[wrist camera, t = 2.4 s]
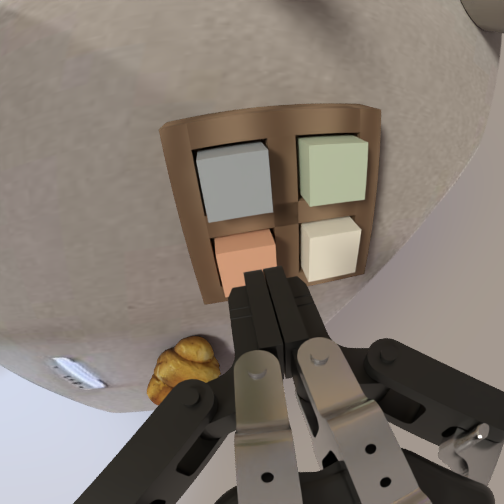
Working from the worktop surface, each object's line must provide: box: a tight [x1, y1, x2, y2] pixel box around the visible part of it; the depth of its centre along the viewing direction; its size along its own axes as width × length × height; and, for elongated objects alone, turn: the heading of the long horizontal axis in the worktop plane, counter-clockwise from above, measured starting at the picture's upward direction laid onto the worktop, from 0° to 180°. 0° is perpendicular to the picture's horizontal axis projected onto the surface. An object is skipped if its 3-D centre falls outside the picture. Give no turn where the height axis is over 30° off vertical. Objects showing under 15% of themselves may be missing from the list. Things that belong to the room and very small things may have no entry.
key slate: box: [196, 141, 273, 223], centre depth 21 cm, size 5×5×3 cm
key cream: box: [300, 216, 361, 282], centre depth 26 cm, size 5×5×3 cm
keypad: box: [159, 104, 381, 305], centre depth 25 cm, size 18×18×4 cm
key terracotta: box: [214, 228, 277, 297], centre depth 25 cm, size 5×5×3 cm
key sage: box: [297, 134, 368, 207], centre depth 21 cm, size 5×5×3 cm
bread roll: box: [147, 336, 221, 405], centre depth 37 cm, size 13×10×8 cm
